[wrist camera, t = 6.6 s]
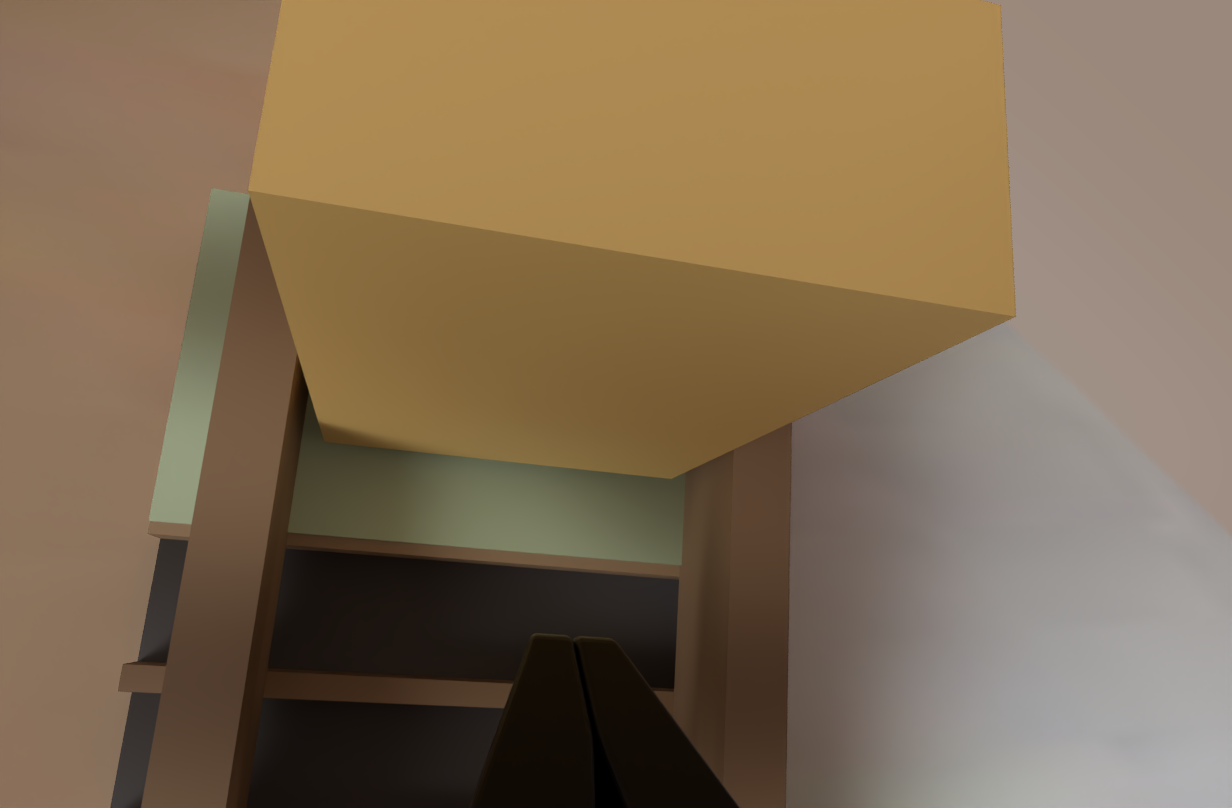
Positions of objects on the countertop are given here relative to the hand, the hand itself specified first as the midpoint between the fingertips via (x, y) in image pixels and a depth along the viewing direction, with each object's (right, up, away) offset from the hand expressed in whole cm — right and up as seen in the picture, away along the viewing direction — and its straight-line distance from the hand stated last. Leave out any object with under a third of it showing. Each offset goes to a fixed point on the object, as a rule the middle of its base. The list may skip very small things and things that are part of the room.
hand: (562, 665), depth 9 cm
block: (-1, +3, +7) cm, 8 cm away
